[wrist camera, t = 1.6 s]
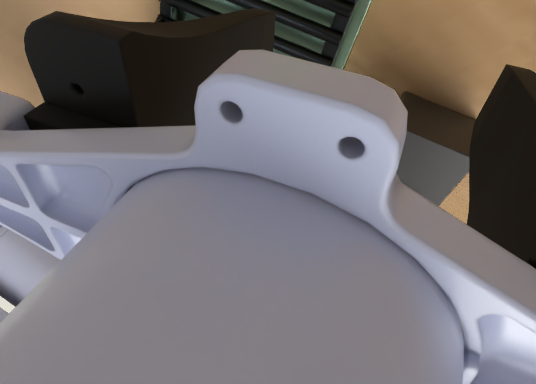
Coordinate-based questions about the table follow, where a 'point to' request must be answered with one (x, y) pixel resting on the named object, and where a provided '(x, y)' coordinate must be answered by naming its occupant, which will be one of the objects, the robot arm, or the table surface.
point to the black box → (434, 148)
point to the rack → (290, 24)
